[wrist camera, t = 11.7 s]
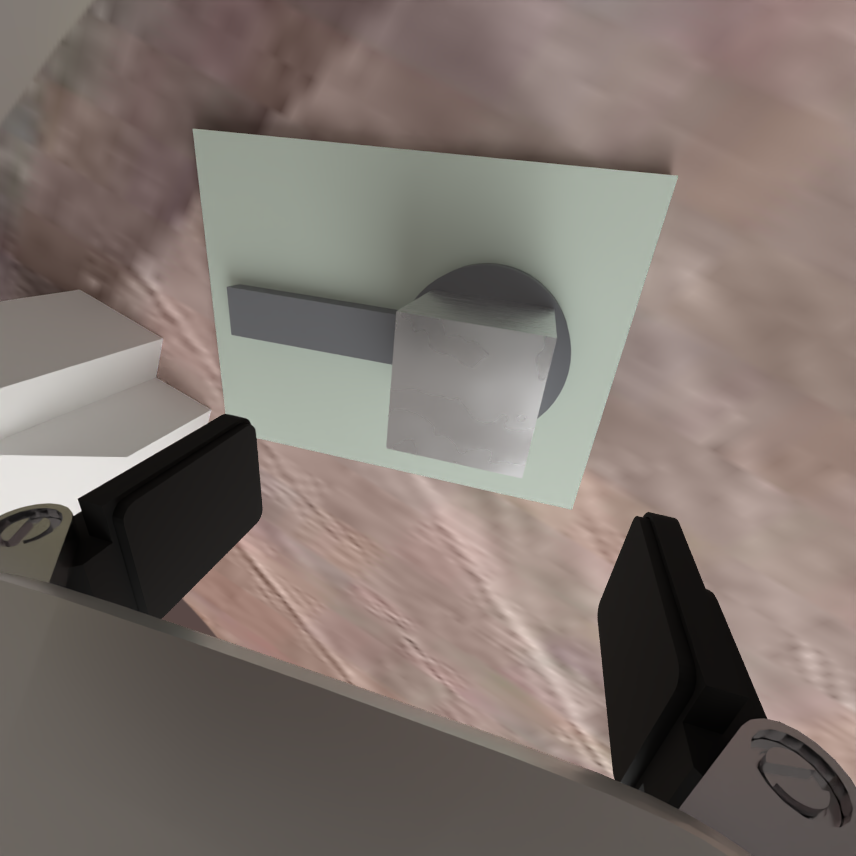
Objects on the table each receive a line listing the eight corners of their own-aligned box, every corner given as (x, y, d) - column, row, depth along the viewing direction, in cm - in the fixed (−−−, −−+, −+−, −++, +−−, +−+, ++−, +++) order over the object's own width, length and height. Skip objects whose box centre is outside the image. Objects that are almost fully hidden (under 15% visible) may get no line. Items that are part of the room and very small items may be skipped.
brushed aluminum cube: (554, 308, 21) (557, 338, 15) (527, 420, 23) (522, 478, 18) (432, 289, 22) (396, 311, 16) (420, 399, 24) (386, 448, 19)
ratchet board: (672, 177, 20) (719, 161, 14) (570, 500, 28) (576, 567, 22) (205, 132, 24) (106, 105, 18) (236, 425, 32) (173, 466, 26)
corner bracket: (80, 289, 30) (-170, 326, 20) (221, 372, 30) (48, 453, 20) (72, 408, 35) (-130, 488, 25) (193, 479, 35) (43, 588, 25)
